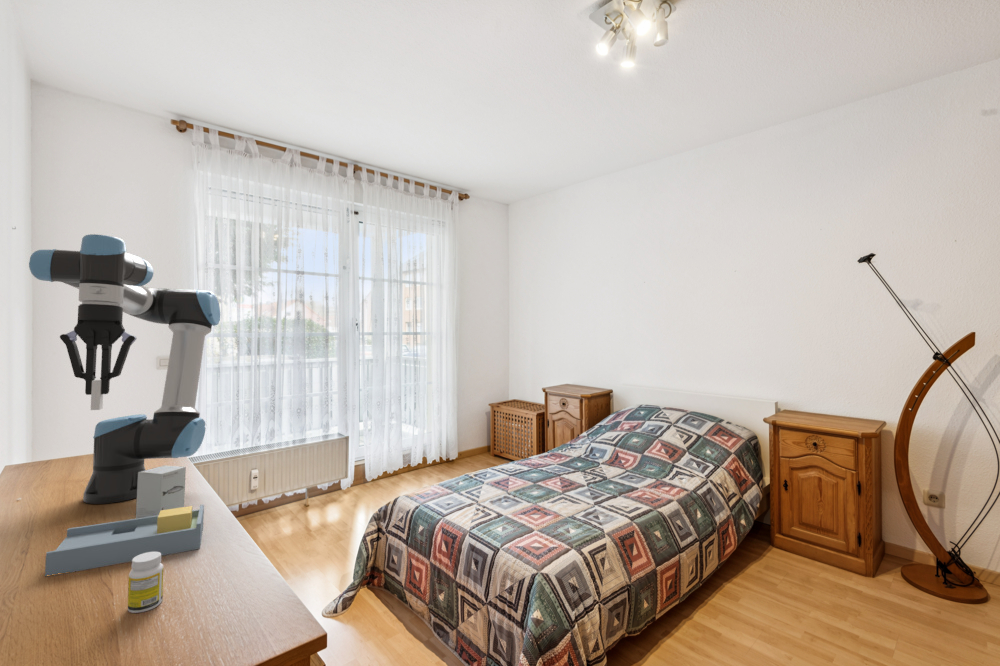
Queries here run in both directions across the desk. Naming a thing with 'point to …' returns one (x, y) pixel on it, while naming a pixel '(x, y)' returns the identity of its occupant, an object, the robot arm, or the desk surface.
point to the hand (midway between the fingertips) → (96, 409)
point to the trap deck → (120, 543)
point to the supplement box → (160, 490)
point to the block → (174, 519)
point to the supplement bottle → (145, 582)
